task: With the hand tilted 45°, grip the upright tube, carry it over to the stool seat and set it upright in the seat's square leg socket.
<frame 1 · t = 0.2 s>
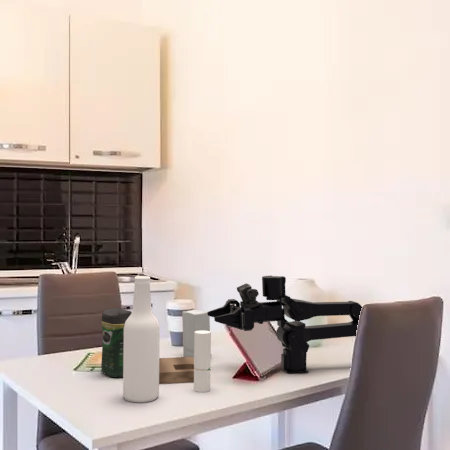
hand: (210, 316, 166), 17 cm above the table, tool horizontal, fingers open, 9 cm apart
coffee jar: (117, 374, 166), on the table
skincare box: (196, 358, 186), on the table
tube: (202, 390, 152), on the table
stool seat: (172, 375, 166), on the table
alcohol: (141, 398, 145), on the table
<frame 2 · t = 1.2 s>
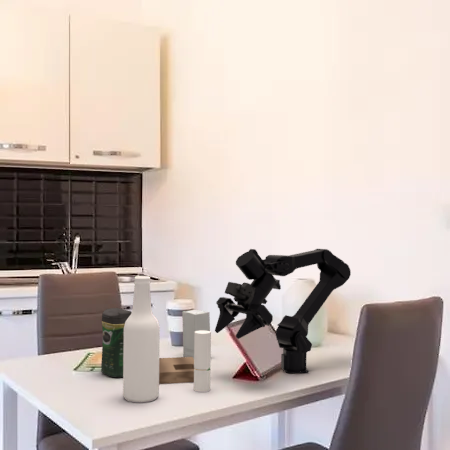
hand: (226, 334, 157), 13 cm above the table, tool tilted 45°, fingers open, 9 cm apart
nothing on the table moved.
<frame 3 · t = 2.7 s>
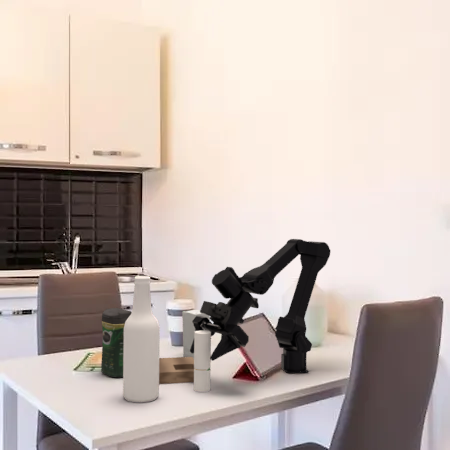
hand: (200, 355, 152), 9 cm above the table, tool tilted 45°, fingers open, 9 cm apart
nothing on the table moved.
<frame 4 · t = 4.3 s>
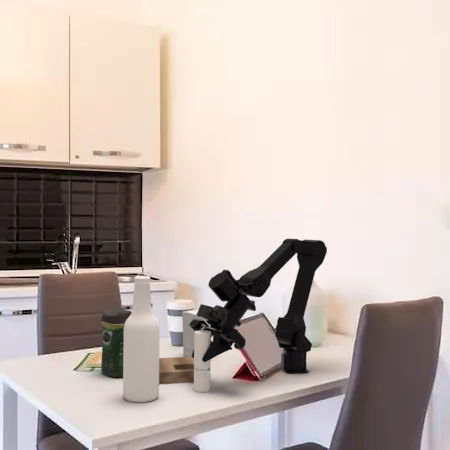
hand: (197, 359, 151), 8 cm above the table, tool tilted 45°, fingers closed on tube, 4 cm apart
tube: (202, 390, 152), on the table, touching gripper
everything else where it was.
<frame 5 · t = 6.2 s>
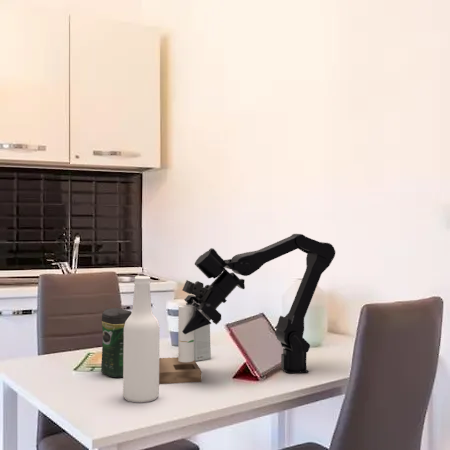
hand: (181, 331, 161), 13 cm above the table, tool tilted 45°, fingers closed on tube, 4 cm apart
tube: (186, 361, 162), point 5 cm above the table, touching gripper
everything else where it was.
when the fingers open (9 cm above the table, at t = 8.2 s): tube stays where it is, resting in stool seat.
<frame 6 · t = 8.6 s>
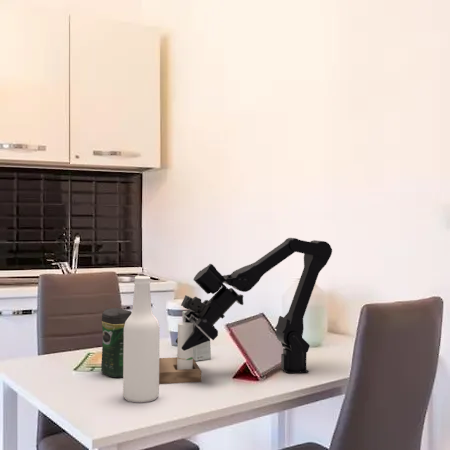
hand: (179, 346, 163), 9 cm above the table, tool tilted 45°, fingers open, 8 cm apart
tube: (184, 378, 163), resting in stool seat
everything else where it was.
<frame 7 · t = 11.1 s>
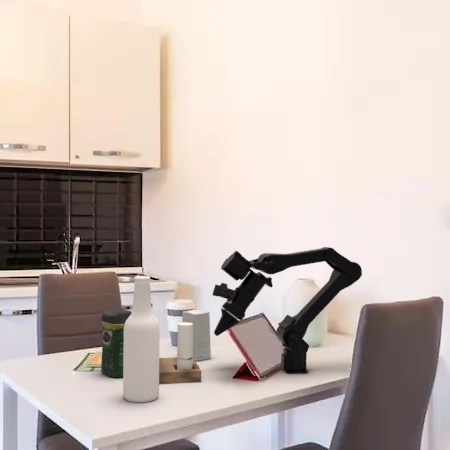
hand: (215, 334, 167), 11 cm above the table, tool tilted 40°, fingers open, 9 cm apart
nothing on the table moved.
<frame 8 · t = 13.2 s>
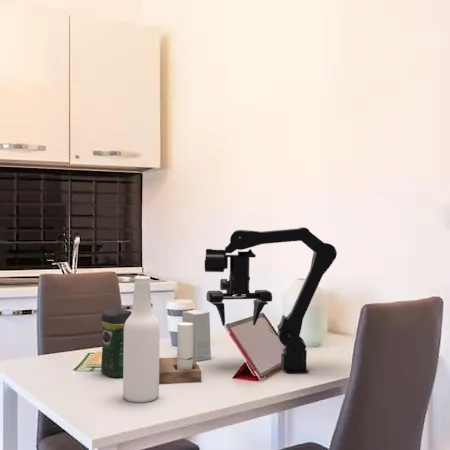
hand: (238, 325, 173), 13 cm above the table, tool pointing down, fingers open, 9 cm apart
nothing on the table moved.
at the end: tube 0.2 cm from the target spot on the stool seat, point 0.0 cm above the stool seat's base; tube tilted 0°; the gripper is holding nothing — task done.
